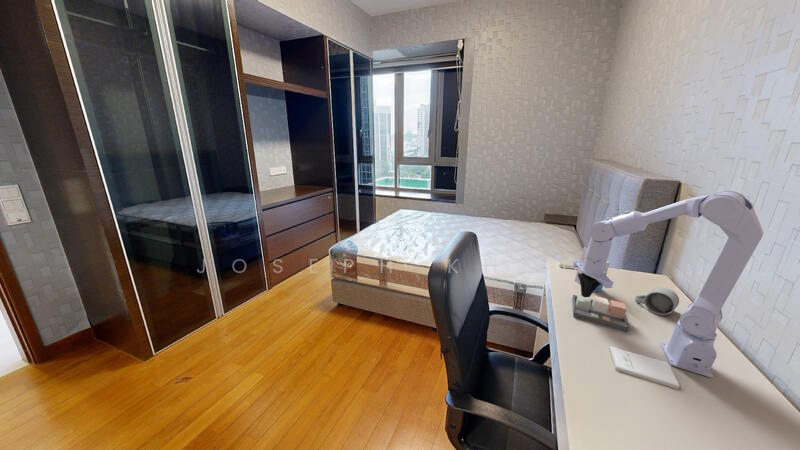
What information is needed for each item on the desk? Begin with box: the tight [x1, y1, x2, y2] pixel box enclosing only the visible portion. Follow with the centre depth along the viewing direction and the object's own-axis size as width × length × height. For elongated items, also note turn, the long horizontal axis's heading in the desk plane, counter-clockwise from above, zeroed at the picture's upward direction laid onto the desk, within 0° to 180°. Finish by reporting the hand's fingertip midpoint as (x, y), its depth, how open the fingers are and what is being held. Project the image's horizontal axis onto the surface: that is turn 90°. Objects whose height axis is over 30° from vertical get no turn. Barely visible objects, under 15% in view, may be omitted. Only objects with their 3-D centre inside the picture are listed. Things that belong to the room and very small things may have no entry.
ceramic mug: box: [634, 287, 680, 316], centre depth 98 cm, size 11×8×8 cm
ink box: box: [574, 246, 611, 292], centre depth 109 cm, size 8×5×15 cm, turn 13°
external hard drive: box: [608, 346, 681, 390], centre depth 73 cm, size 2×8×12 cm
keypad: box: [571, 294, 630, 333], centre depth 94 cm, size 12×14×2 cm
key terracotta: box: [608, 299, 627, 318], centre depth 91 cm, size 4×4×3 cm
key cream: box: [592, 295, 610, 313], centre depth 93 cm, size 4×4×3 cm
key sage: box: [575, 295, 591, 312], centre depth 96 cm, size 4×4×3 cm
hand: (585, 296), depth 95 cm, fingers closed
